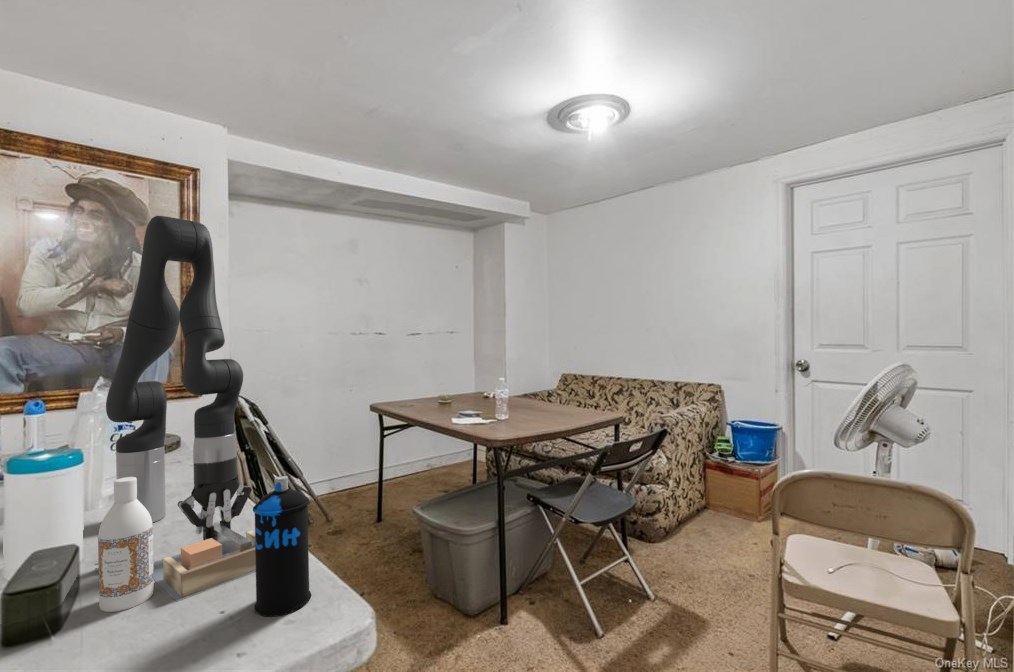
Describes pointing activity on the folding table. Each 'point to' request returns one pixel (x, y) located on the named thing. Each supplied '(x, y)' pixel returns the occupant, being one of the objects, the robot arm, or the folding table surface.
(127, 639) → the folding table surface
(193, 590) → the stall
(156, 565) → the mat
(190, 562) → the block
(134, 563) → the bath foam
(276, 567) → the aerosol can
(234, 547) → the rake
